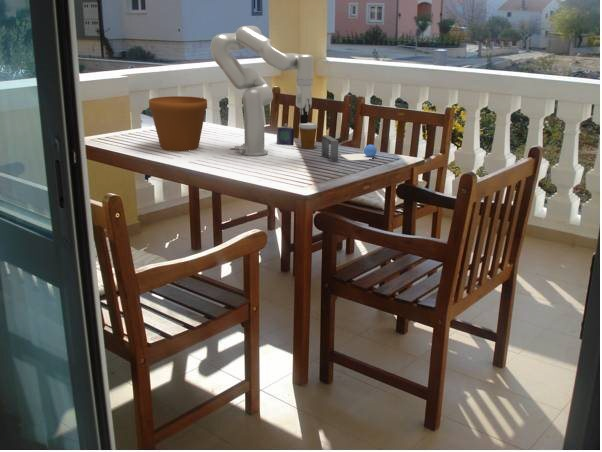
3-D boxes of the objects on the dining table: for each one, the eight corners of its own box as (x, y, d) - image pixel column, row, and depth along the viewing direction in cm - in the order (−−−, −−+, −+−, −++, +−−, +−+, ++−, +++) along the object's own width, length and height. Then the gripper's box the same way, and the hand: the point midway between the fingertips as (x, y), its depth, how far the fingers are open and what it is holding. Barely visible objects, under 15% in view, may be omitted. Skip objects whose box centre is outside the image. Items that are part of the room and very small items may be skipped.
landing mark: (349, 160, 323) (349, 160, 323) (339, 155, 335) (339, 154, 335) (375, 159, 327) (375, 159, 327) (364, 153, 339) (364, 153, 339)
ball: (371, 160, 330) (364, 151, 327) (366, 158, 335) (359, 148, 333) (380, 152, 330) (374, 143, 328) (375, 150, 335) (369, 140, 333)
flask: (276, 144, 359) (276, 123, 356) (278, 143, 361) (278, 122, 358) (292, 145, 356) (293, 124, 353) (294, 144, 359) (295, 123, 355)
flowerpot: (140, 150, 336) (138, 101, 329) (166, 140, 362) (164, 95, 355) (194, 155, 329) (192, 105, 322) (216, 144, 355) (215, 98, 348)
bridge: (331, 162, 320) (332, 141, 317) (321, 155, 334) (321, 135, 331) (337, 161, 321) (338, 140, 318) (327, 155, 334) (327, 135, 331)
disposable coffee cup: (315, 149, 347) (315, 125, 343) (296, 148, 349) (296, 124, 345) (318, 146, 356) (319, 122, 352) (300, 145, 357) (300, 121, 354)
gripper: (292, 81, 319) (291, 120, 324) (301, 84, 305) (300, 126, 310) (307, 80, 321) (306, 120, 326) (317, 84, 307) (316, 125, 313)
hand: (303, 123), depth 318 cm, fingers closed
